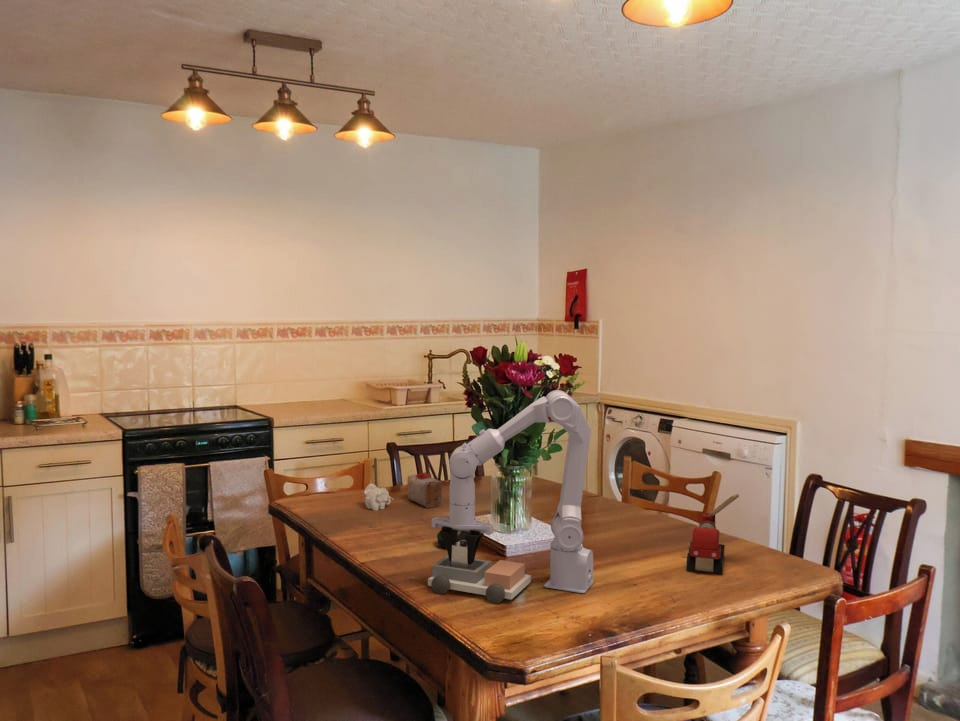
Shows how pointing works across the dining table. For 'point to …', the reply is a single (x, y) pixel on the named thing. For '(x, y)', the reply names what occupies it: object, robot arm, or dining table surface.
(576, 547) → the robot arm
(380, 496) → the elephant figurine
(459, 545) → the block
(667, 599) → the dining table surface
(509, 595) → the chassis
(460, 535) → the caster wheel
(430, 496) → the food item
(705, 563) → the toy fire truck
